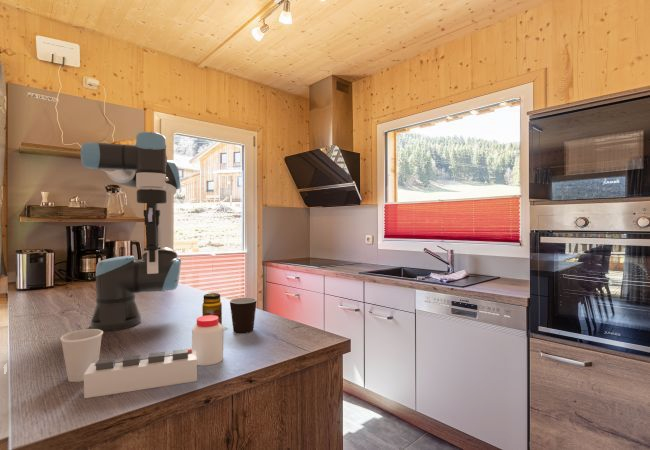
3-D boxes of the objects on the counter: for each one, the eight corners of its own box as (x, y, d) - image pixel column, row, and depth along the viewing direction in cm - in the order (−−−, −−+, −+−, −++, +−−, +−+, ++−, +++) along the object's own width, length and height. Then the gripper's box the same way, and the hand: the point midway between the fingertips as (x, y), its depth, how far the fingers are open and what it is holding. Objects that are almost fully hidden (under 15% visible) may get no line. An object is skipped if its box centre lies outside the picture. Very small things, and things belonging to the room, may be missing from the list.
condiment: (214, 335, 114) (214, 297, 113) (192, 332, 116) (191, 295, 116) (227, 328, 121) (227, 292, 120) (206, 325, 123) (205, 291, 123)
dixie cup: (83, 386, 80) (83, 341, 79) (51, 383, 81) (50, 339, 81) (111, 370, 88) (111, 329, 87) (81, 367, 89) (81, 327, 89)
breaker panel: (91, 385, 80) (90, 357, 80) (196, 370, 88) (196, 344, 87) (84, 398, 74) (83, 367, 74) (197, 380, 82) (196, 353, 82)
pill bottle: (229, 357, 96) (229, 316, 95) (205, 368, 89) (205, 324, 89) (210, 351, 100) (209, 312, 99) (185, 361, 93) (185, 319, 93)
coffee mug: (250, 335, 113) (250, 304, 113) (225, 333, 115) (225, 302, 114) (264, 324, 124) (263, 296, 124) (240, 323, 126) (240, 294, 126)
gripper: (165, 188, 96) (166, 276, 97) (167, 190, 108) (168, 268, 109) (133, 187, 93) (134, 278, 94) (139, 190, 105) (140, 270, 106)
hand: (152, 273), depth 101 cm, fingers closed
